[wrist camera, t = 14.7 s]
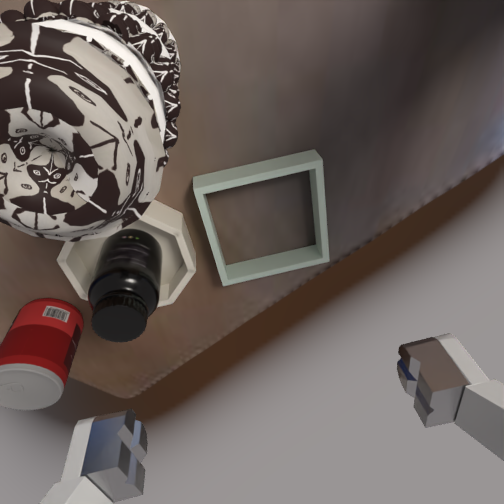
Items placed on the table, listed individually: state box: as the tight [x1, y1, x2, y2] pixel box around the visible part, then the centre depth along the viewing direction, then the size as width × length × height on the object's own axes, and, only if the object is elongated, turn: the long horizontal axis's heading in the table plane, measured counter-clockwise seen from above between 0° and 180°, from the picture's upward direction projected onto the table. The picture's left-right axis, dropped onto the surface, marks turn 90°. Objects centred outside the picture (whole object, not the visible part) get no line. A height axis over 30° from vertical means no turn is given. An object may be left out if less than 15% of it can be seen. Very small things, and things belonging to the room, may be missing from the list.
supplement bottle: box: [88, 229, 162, 342], centre depth 38 cm, size 7×7×12 cm
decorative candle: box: [0, 0, 181, 242], centre depth 22 cm, size 9×9×25 cm
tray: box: [193, 149, 330, 286], centre depth 43 cm, size 14×14×3 cm
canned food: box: [0, 298, 83, 410], centre depth 44 cm, size 8×8×11 cm
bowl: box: [56, 199, 196, 307], centre depth 42 cm, size 14×14×4 cm
